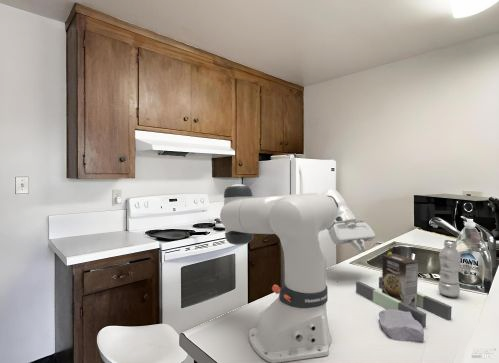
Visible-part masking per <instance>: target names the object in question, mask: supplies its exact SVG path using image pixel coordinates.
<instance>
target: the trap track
mask: <svg viewBox="0 0 499 363" xmlns="http://www.w3.org/2000/svg"><path fill="white" fill-rule="evenodd" d="M379 289H380V290H382V276H379V277H378V289H376V288H374V287H372V286H370V285H368V284H365V283H364V282H363V281H360V280H358V281H356V283H355V293H356V294H358V295H360V296H362V297H364V298H366V299H368V300H369V301H371V302H373V303H375V304H376V305H379V306H381V307H382V308H384V309H385V310H388V309H391V310H392V309H393V310H400V311H404V312H410V313H411V314H412V317H413V318H414V319H415V320H417V321H418V322H419V323H420V324H421V326H422V327H423V329H424V328H426V327H427V313H425V312H423V311H422V310H420V309H417V308H416V309H415V308H413V307H411V306H409V305H407V304H405V303H403V302H401V301H399V300H397V299H395V298H393V297H391V296H389V295H387V294H385V293H383V292H382V291H380V290H379ZM417 307H419V308H421V309H424V310H426V311H427V312H429V313H432V314H434V315H436V316H438V317H440V318H442V319H444V320H447V321H451V320H452V308H453V307H452V306H451V305H449V304H447V303H445V302H443V301H440V300H438V299H436V298H432V297H430V296H428V295H426V294H423V293H421V292H419V291H417Z"/></svg>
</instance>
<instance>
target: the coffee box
mask: <svg viewBox="0 0 499 363" xmlns="http://www.w3.org/2000/svg"><path fill="white" fill-rule="evenodd" d="M387 254H388V253H387ZM387 254H383V255H382V266H383V270H382V276H381V277H382V289H381V292H383V293H385V294H387V295H389V296H391V297H393V298H395V299H397V300H399V301H401V302H403V303H405V304H407V305H409V306H411V307H413V308H415V309H417V307H418V306H417V292H418V279H419V278H418V277H419V276H418V275H419V260H415V259H413V258H409V257H406V256H403V255H400V254H399V253H398V254H397V253H392V254H388V255H387Z"/></svg>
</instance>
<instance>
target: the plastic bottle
mask: <svg viewBox="0 0 499 363" xmlns="http://www.w3.org/2000/svg"><path fill="white" fill-rule="evenodd" d="M457 245H458V244H457V241H456V240H450V239H445V240H444V242H443V248H441V250H440V251H439V254H438V256H439V262H440V263H439V264H440V275H439V281H438V286H437V287H438V291H439V293H440V294H441V295H443V296H444V297H450V298H457V297H459V296H460V293H461V287H460V281H459V280H460V279H459V271H460V270H459V269H460V265H461V264H460V263H461V260H462V257H461V256H462V255H461V254H460V252H459V250H458V249H457V248H458V246H457Z"/></svg>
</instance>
